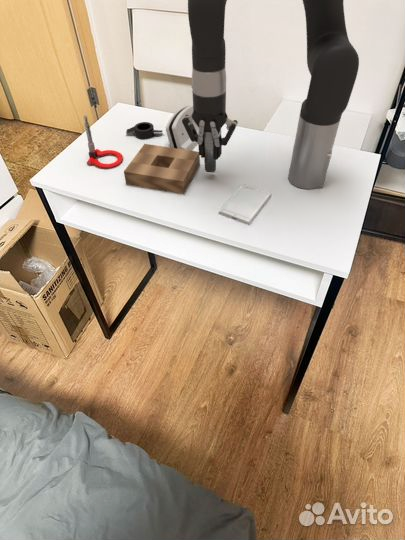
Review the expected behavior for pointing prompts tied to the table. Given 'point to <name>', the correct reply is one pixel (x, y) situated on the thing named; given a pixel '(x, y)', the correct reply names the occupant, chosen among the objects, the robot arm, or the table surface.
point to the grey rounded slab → (180, 130)
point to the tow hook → (100, 152)
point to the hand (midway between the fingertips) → (210, 156)
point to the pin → (209, 152)
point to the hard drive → (245, 204)
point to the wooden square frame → (162, 168)
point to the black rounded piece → (143, 130)
